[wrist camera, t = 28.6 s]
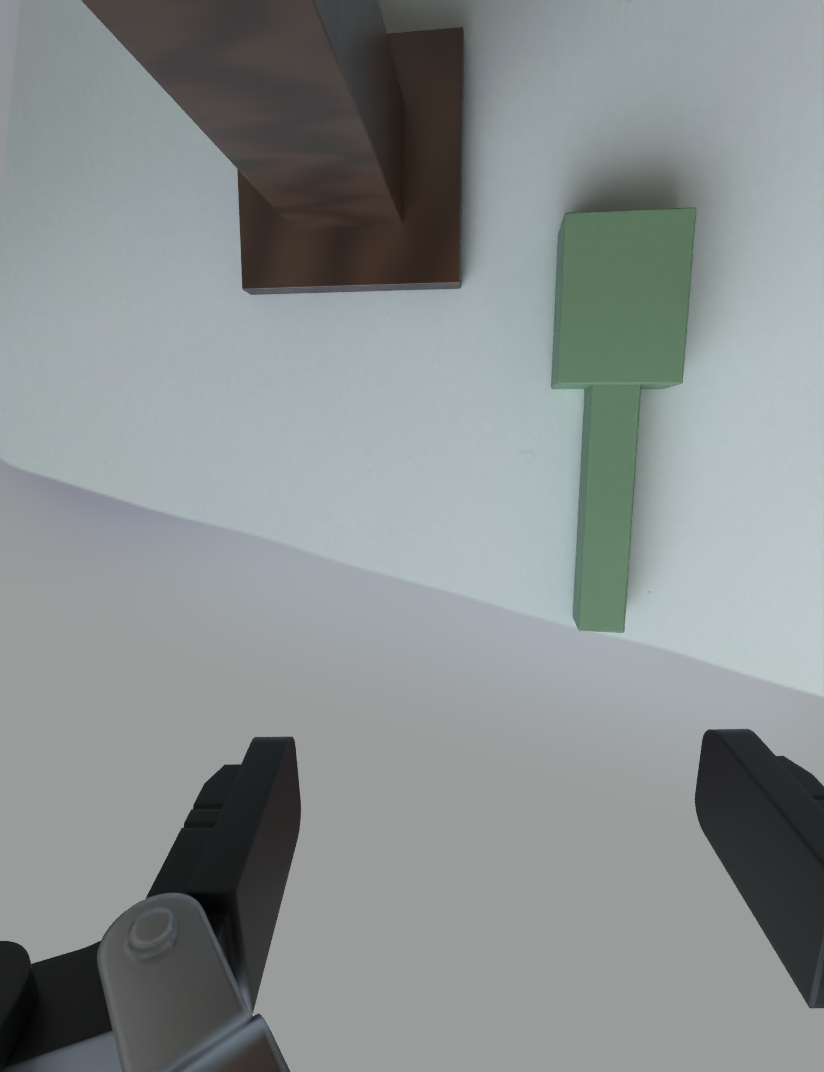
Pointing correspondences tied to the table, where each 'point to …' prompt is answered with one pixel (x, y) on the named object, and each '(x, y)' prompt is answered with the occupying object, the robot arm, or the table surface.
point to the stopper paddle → (616, 373)
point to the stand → (319, 133)
